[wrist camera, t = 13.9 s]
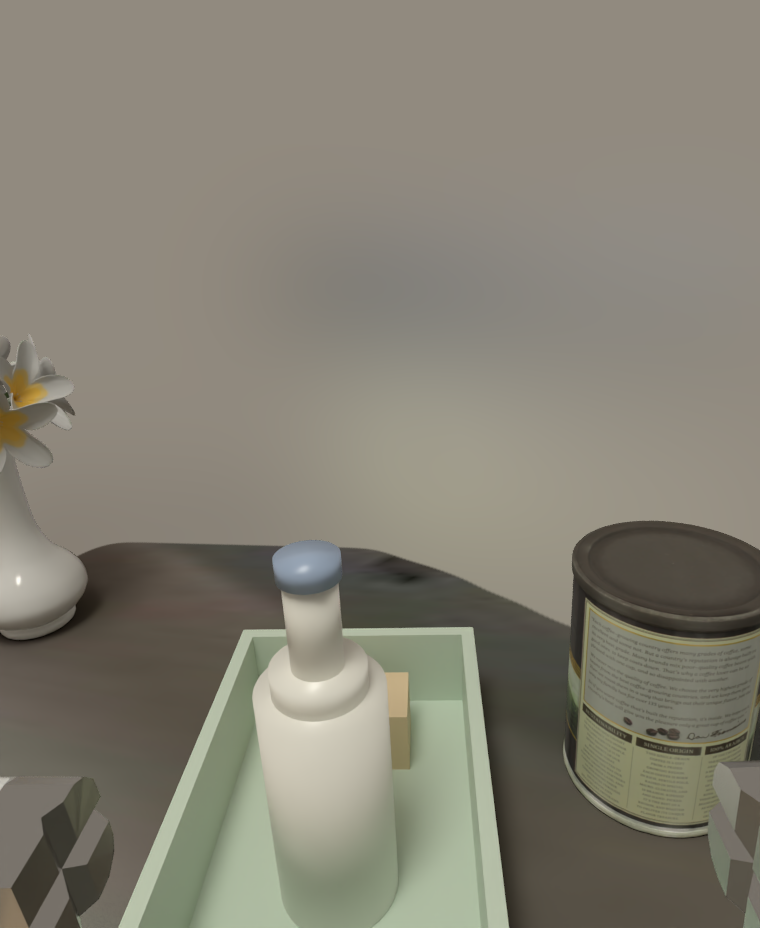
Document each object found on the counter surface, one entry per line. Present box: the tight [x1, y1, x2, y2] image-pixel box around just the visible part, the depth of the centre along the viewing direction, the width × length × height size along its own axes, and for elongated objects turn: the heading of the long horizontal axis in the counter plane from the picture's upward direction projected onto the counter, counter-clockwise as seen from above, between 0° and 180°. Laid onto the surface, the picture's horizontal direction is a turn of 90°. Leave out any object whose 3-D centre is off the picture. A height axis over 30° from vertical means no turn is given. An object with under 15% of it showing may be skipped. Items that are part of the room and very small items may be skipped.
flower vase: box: [0, 334, 88, 640], centre depth 54 cm, size 13×18×25 cm
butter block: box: [384, 672, 411, 770], centre depth 41 cm, size 7×4×4 cm, turn 86°
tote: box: [119, 627, 509, 928], centre depth 36 cm, size 16×22×6 cm
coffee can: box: [563, 521, 760, 838], centre depth 38 cm, size 10×10×14 cm
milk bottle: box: [252, 540, 398, 928], centre depth 30 cm, size 6×6×19 cm
